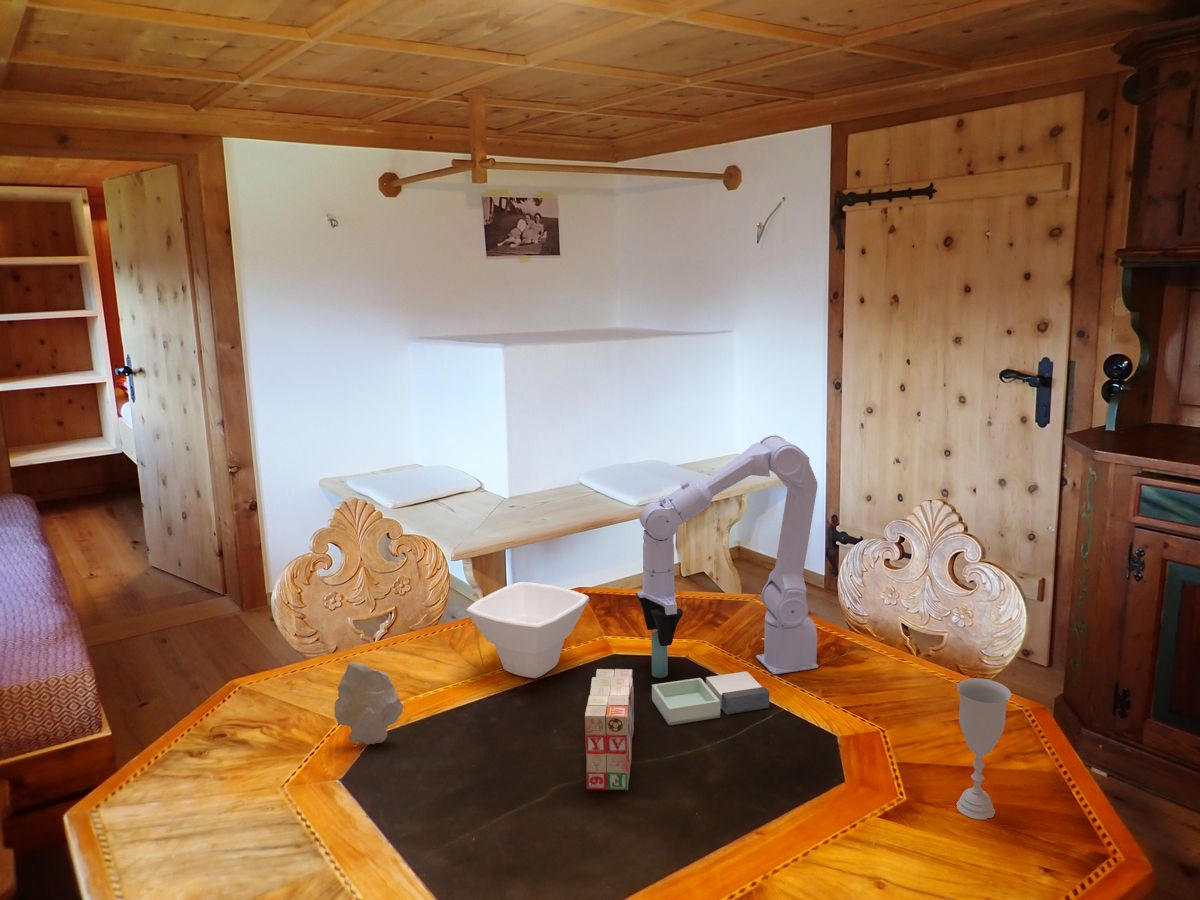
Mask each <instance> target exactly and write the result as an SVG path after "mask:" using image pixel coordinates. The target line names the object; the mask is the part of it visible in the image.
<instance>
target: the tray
mask: <svg viewBox="0 0 1200 900" xmlns="http://www.w3.org/2000/svg"><path fill="white" fill-rule="evenodd" d="M651 701H652V702H653V704H654V705H655V707H656V708H657V710H658V712H660V715H661V716H662V717H663V719H664V721H665V722H666V723H667V725H668V726H674V725H680V724H681V725H682V724H687V723H692V722H699V721H706V720H712V719H718V718H721V708H720V700H719V699H718V698H717V697H716V696H715V694H714V693H713V692H712V691H711V690H710V688H709V687H708V686H707V685H706V681H704V680H703V679H702V678H701V677H697V678H689V679H682V680H677V681H670V682H669V681H668V682H662V683H655V684H651Z"/></svg>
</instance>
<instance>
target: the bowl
mask: <svg viewBox="0 0 1200 900" xmlns="http://www.w3.org/2000/svg"><path fill="white" fill-rule="evenodd" d="M589 601H590V597H589V596H588V595H587V594H584V593H581V592H579V591H576V590H572V589H569V588H568V589H567V588H564V587H561V586H556V585H550V584H545V583H538V582H530V581H529V582H527V581H519V582H516V583H511V584H509V585H506V586H504V587H501V588H500V589H497V590H496V591H493V592H491V593H490V594H487V595H486V596H484V597H482V598H480V599H477V600H475V601H474V602H473V603H471V605H469V606H468V607H467V608H466V610H465V611H466V614H467V615H468V616H469V617H470V619H471V621H472V622H473V623H474V624H475V626H476V627H477V629H478V630H479V632H480V633H481V634H482V635H483V637H484V638H485V640H486V641H487V642H489V643H490V644H492V645H494V647H495V650H496V653H497V655H498V658H499V659H500V662H501V665H502V667H503V669H504V671H507V672H508V673H511V674H514V675H516V676H519V677H524V678H531V679H537V678H539V677H541V676H544V675H545V674H546V673H548V672H550V671H551V670H552V669H554V668H555V667H556V666H557V665H558V663H559V662H560V657H561V653H562V650H563V647H564V642H565V639H566V638H568V637H569V635H571V633H572V632H573V631H574V628H575V626H576V625H577V622H578V621H579V619H580V617H581V616H582V614H583V611H584V610H585V608H586V606H587V604H588V602H589Z"/></svg>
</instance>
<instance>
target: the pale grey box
mask: <svg viewBox="0 0 1200 900" xmlns="http://www.w3.org/2000/svg"><path fill="white" fill-rule="evenodd" d="M705 684H706V685H707V686H708V687H709V688H710V690H711V691H712V692H713V693H714V694H715V696H716V697H717V698H718V699H719V700H720V710H722V693H726V692H733V691H740V690H746V689H753V688H759V687H763V686H762V685H761V684H760V683H759V682H758V681H757V680H756V679H755V678H754V677H753V676H752V674H750V673H749V671H740V672H733V673H726V674H719V675H712V676H706V677H705Z"/></svg>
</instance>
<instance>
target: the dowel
mask: <svg viewBox="0 0 1200 900" xmlns="http://www.w3.org/2000/svg"><path fill="white" fill-rule="evenodd" d="M668 650H669V649H668V646H660V643H659V640H658V633H657V631H654V632H652V633H651V676H652V677H654V678H656V679H663V678H665V677H668V674H669V673H668V671H669V670H668V663H669V661H668Z"/></svg>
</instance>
